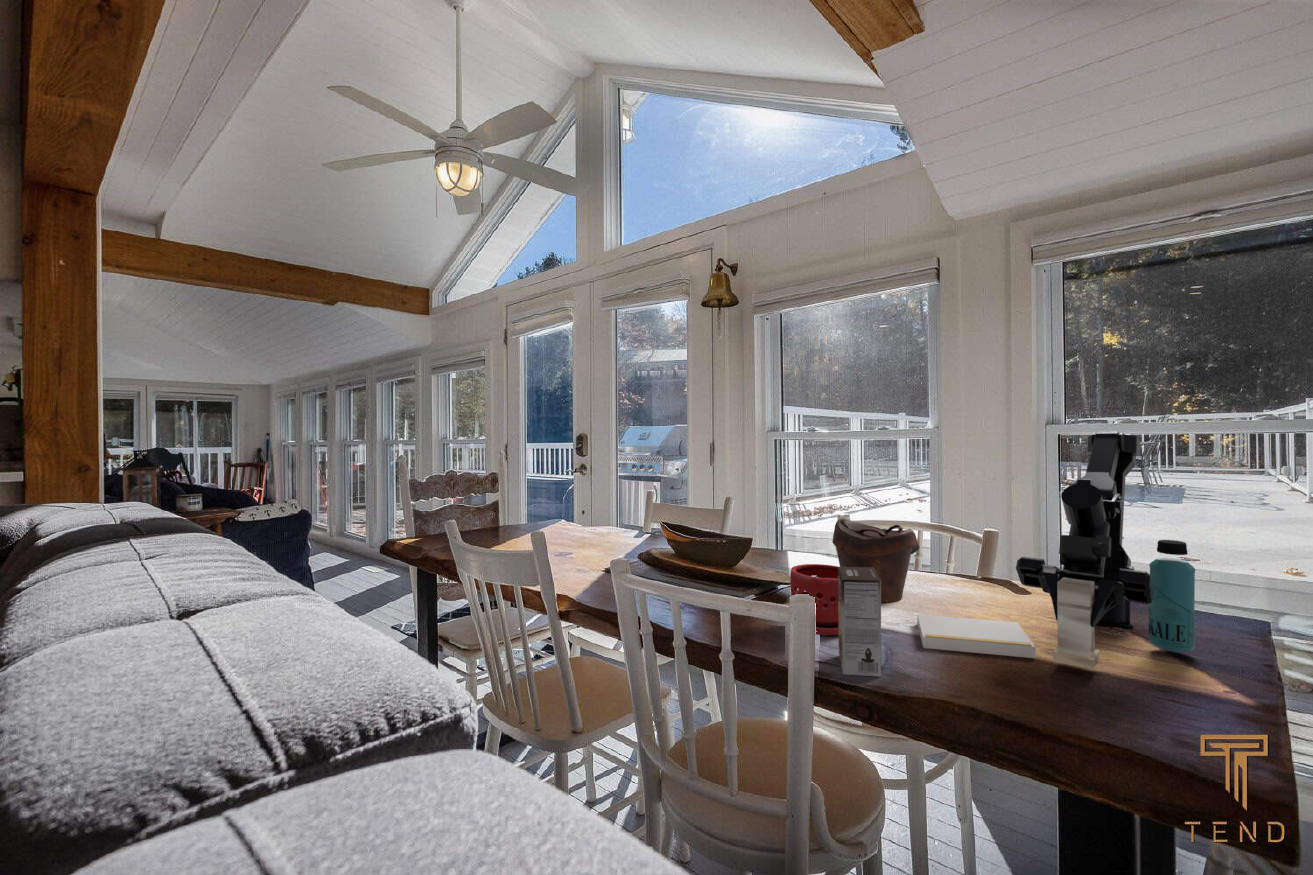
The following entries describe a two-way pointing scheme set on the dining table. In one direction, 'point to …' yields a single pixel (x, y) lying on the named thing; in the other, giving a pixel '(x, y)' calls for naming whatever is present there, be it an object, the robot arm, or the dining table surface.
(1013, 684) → the dining table surface
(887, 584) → the brown tapered planter
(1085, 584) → the white stepped pillar
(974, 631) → the white rectangular slab
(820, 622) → the plant pot
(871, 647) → the coffee box
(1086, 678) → the dining table surface
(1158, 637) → the beverage bottle
